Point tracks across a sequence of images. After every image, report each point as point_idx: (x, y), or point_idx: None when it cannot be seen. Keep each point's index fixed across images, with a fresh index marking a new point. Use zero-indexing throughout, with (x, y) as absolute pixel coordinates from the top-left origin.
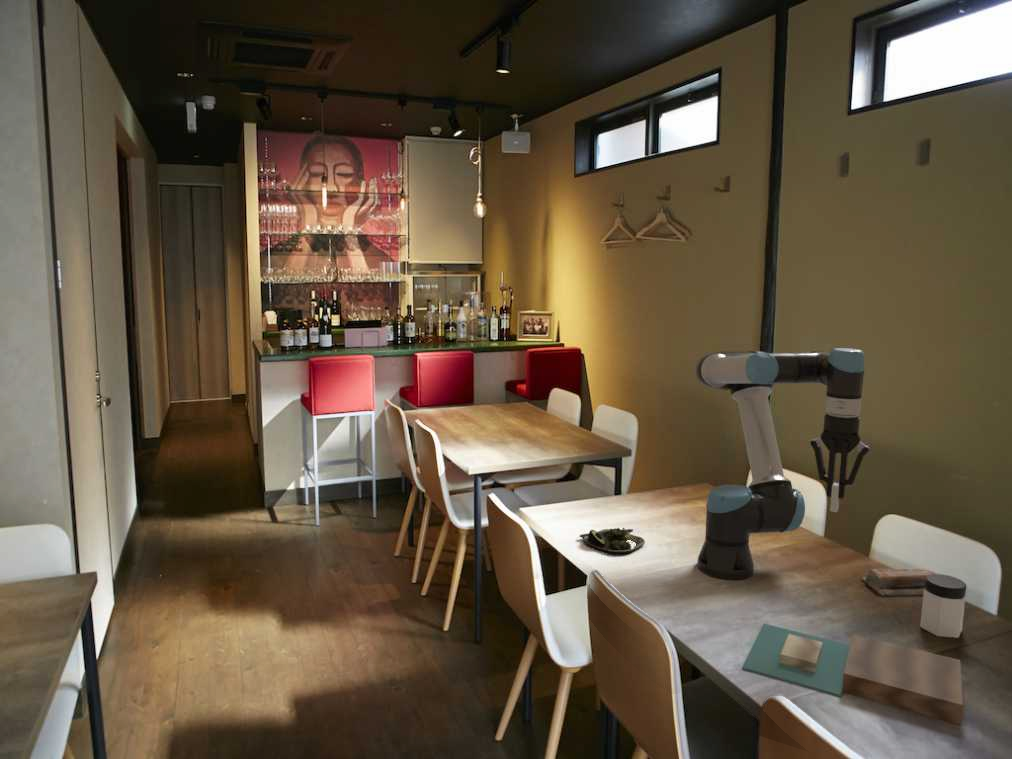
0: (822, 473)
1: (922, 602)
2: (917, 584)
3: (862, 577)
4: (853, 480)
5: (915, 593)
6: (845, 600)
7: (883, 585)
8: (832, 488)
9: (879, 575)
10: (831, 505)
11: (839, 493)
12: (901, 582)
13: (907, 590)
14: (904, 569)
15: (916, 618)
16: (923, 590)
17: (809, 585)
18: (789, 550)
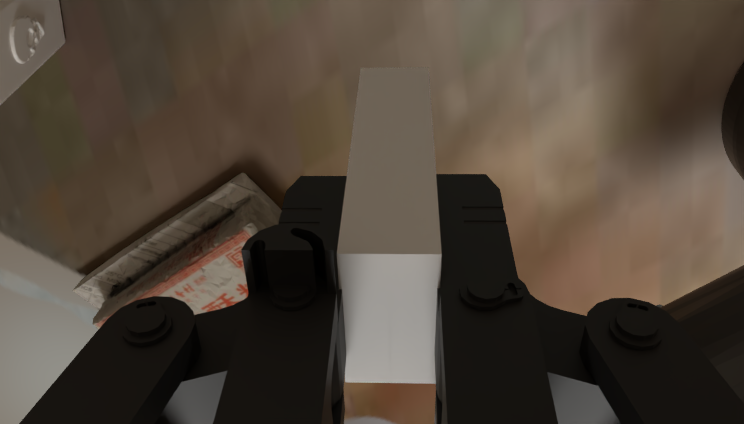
0: (659, 405)
1: (16, 22)
2: (151, 273)
3: None
4: (83, 357)
5: (152, 232)
6: (347, 58)
7: (241, 212)
8: (430, 222)
9: None
10: (419, 98)
11: (337, 212)
12: (189, 250)
13: (174, 233)
14: None
15: (92, 44)
16: (132, 256)
17: (492, 121)
18: None
